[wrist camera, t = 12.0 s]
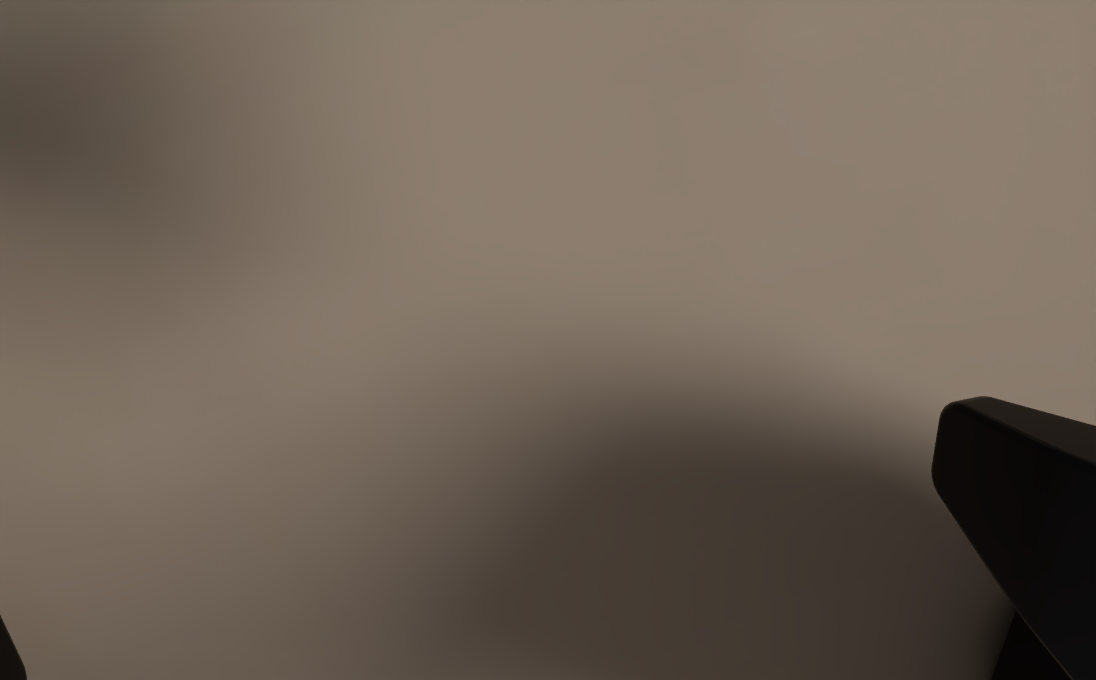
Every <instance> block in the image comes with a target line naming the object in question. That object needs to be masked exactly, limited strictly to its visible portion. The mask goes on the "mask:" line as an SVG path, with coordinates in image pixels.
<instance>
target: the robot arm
mask: <svg viewBox="0 0 1096 680" xmlns="http://www.w3.org/2000/svg"><path fill="white" fill-rule="evenodd" d="M931 472H932V479H933V483H934V486H935V489H936V491H937V493H938V495H939V496H940V498H941V499H942V501H943V502H944V504H945V505H946V507H947V508H948V510H949V511H950V513H951V514H952V516H953V517H954V519H955V520H956V522H957V523H958V525H959V526H960V528H961V529H962V530H963V532H964V533H965V535H966V536H967V538H968V539H969V541H970V542H971V544H972V545H973V547H974V548H975V550H976V551H977V553H978V554H979V556H980V557H981V559H982V560H983V562H984V563H985V565H986V566H987V568H988V569H989V571H990V572H991V574H992V575H993V577H994V578H995V580H996V581H997V583H998V584H999V586H1000V587H1001V589H1002V590H1003V592H1004V593H1005V595H1006V596H1007V597H1008V599H1009V600H1010V602H1011V603H1012V604H1013V606H1014V607H1015V609H1016V612H1015V614H1014V617H1013V620H1012V623H1011V626H1010V628H1009V631H1008V634H1007V637H1006V640H1005V642H1004V645H1003V648H1002V651H1001V653H1000V656H999V659H998V662H997V665H996V667H995V670H994V673H993V676H992V679H991V680H1096V426H1094V425H1090V424H1087V423H1083V422H1079V421H1076V420H1072V419H1069V418H1065V417H1061V416H1058V415H1054V414H1050V413H1047V412H1043V411H1039V410H1036V409H1032V408H1028V407H1025V406H1021V405H1017V404H1014V403H1010V402H1006V401H1003V400H999V399H995V398H992V397H987V396H980V397H974V398H969V399H964V400H960V401H955V402H951V403H949V404H948V405H946V406H945V407H944V409H943V410H942V412H941V415H940V418H939V425H938V431H937V437H936V443H935V449H934V455H933V461H932V469H931ZM0 680H27V676H26V671H25V667H24V665H23V662H22V660H21V658H20V656H19V654H18V651H17V649H16V647H15V645H14V643H13V641H12V639H11V637H10V635H9V632H8V630H7V628H6V626H5V624H4V622H3V620H2V618H1V616H0Z"/></svg>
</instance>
